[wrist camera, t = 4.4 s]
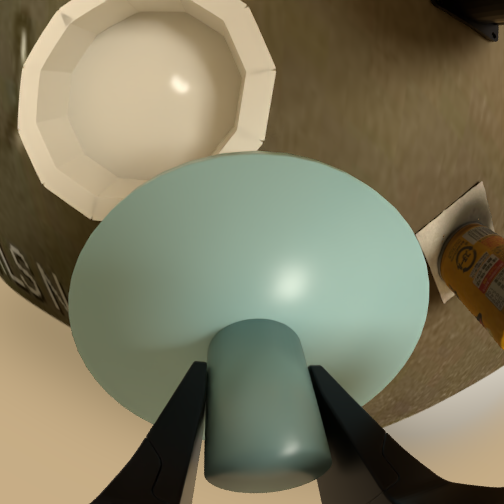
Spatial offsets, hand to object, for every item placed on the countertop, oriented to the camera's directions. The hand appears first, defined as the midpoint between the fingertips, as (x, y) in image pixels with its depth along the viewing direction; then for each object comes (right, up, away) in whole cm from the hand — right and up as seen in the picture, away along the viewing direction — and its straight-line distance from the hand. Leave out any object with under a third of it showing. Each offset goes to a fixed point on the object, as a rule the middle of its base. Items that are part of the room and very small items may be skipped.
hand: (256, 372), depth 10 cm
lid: (0, +1, +2) cm, 2 cm away
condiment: (+17, +4, +12) cm, 21 cm away
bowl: (-6, +12, +6) cm, 15 cm away
